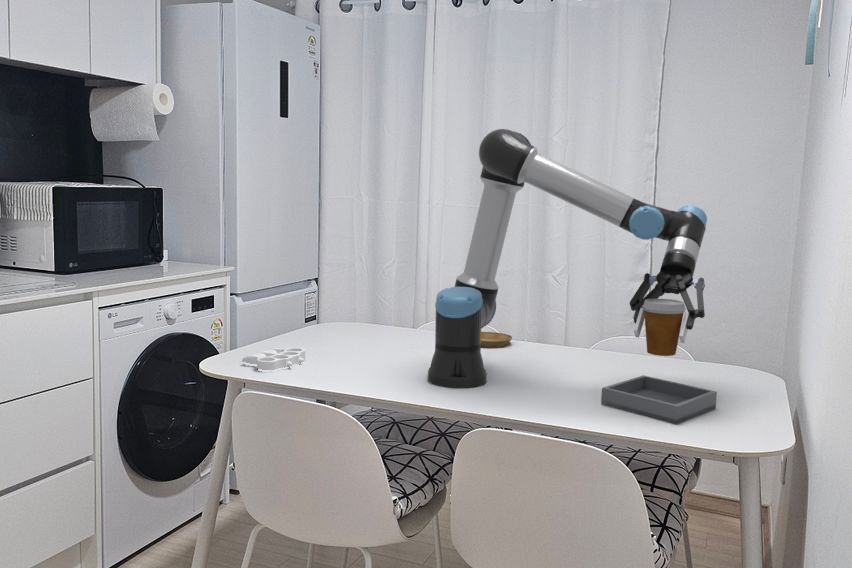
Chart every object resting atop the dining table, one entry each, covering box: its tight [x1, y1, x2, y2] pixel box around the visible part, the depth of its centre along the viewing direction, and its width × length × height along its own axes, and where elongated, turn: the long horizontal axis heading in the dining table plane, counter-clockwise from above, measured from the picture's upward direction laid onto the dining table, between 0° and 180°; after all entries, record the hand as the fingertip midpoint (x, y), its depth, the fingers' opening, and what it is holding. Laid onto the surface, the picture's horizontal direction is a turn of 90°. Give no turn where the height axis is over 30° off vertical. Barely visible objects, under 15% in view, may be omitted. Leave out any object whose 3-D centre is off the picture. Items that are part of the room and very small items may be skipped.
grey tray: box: [600, 375, 718, 425], centre depth 178 cm, size 19×18×4 cm
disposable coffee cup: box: [642, 298, 687, 357], centre depth 176 cm, size 10×10×12 cm
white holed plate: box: [241, 347, 306, 370], centre depth 211 cm, size 3×18×15 cm
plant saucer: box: [481, 331, 513, 348], centre depth 243 cm, size 15×15×3 cm
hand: (658, 336), depth 174 cm, fingers closed on disposable coffee cup, 9 cm apart
